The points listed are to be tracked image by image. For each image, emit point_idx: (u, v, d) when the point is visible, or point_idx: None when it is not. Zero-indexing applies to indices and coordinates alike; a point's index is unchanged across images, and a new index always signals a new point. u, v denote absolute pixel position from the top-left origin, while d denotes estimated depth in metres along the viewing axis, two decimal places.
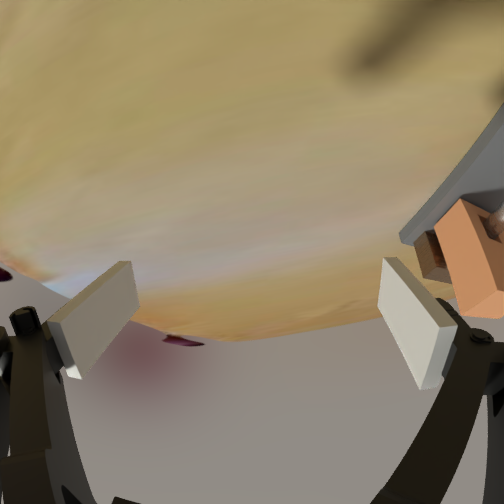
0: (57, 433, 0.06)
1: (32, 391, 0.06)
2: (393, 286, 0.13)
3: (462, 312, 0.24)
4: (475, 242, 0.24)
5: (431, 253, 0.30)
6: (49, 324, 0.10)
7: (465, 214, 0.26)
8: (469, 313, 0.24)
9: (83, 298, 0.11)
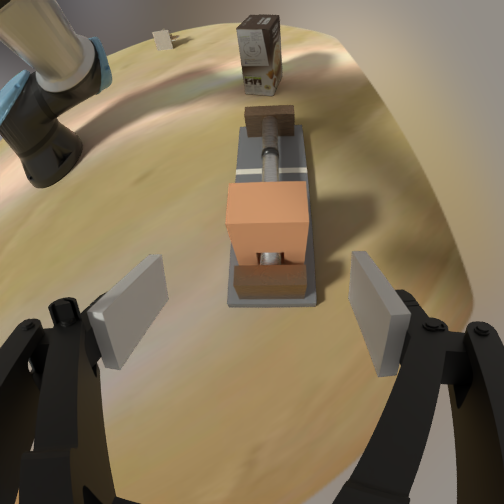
0: (86, 430, 0.06)
1: (65, 386, 0.07)
2: (359, 278, 0.14)
3: None
4: None
5: None
6: (89, 315, 0.10)
7: None
8: (234, 218, 0.30)
9: (121, 289, 0.12)
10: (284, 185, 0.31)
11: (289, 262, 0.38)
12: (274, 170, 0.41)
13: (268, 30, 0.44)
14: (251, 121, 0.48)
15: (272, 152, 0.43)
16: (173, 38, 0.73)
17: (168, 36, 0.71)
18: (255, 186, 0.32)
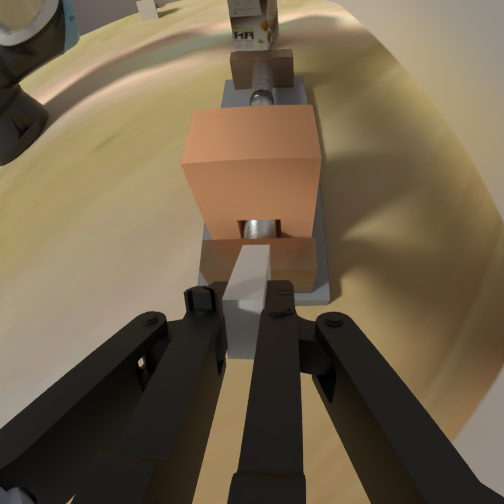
0: (186, 439, 0.06)
1: (177, 386, 0.07)
2: None
3: None
4: None
5: None
6: (224, 303, 0.11)
7: None
8: (196, 155, 0.17)
9: (243, 277, 0.13)
10: (279, 109, 0.19)
11: None
12: None
13: None
14: (239, 68, 0.35)
15: (264, 95, 0.30)
16: (159, 7, 0.60)
17: (153, 5, 0.58)
18: (234, 112, 0.19)
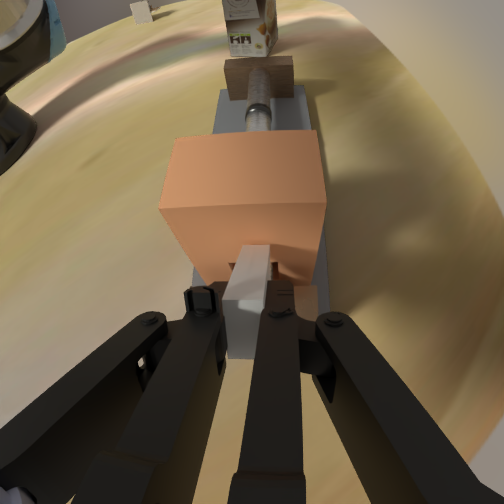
0: (186, 439, 0.06)
1: (177, 386, 0.07)
2: None
3: None
4: None
5: None
6: (224, 303, 0.11)
7: None
8: (176, 198, 0.15)
9: (243, 277, 0.13)
10: (276, 136, 0.16)
11: (287, 278, 0.22)
12: None
13: None
14: (234, 77, 0.32)
15: (261, 110, 0.27)
16: (153, 9, 0.58)
17: (147, 7, 0.56)
18: (222, 140, 0.16)
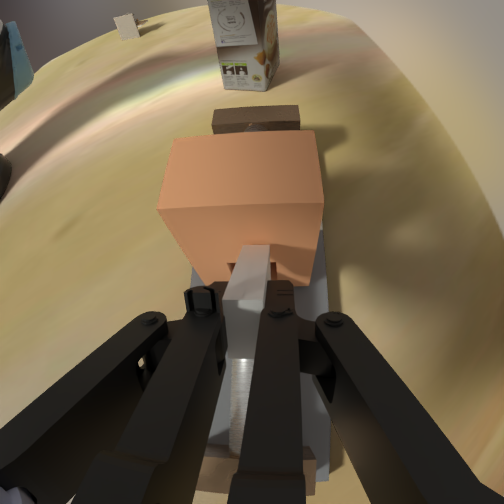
0: (186, 439, 0.06)
1: (177, 386, 0.07)
2: None
3: None
4: None
5: None
6: (225, 303, 0.11)
7: None
8: (174, 198, 0.15)
9: (243, 277, 0.13)
10: (274, 137, 0.16)
11: (285, 278, 0.22)
12: None
13: None
14: None
15: None
16: (139, 23, 0.53)
17: (133, 21, 0.51)
18: (220, 140, 0.16)
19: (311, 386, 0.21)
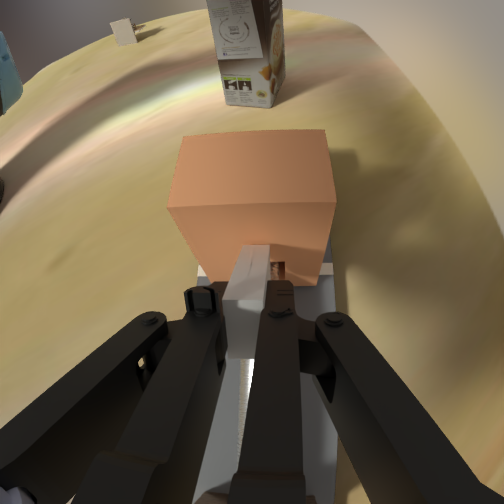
0: (186, 439, 0.06)
1: (178, 386, 0.07)
2: None
3: None
4: None
5: None
6: (225, 303, 0.11)
7: None
8: (185, 197, 0.15)
9: (244, 277, 0.13)
10: (285, 136, 0.16)
11: (293, 278, 0.22)
12: None
13: None
14: None
15: None
16: (137, 29, 0.51)
17: (130, 26, 0.49)
18: (231, 139, 0.16)
19: (317, 439, 0.19)
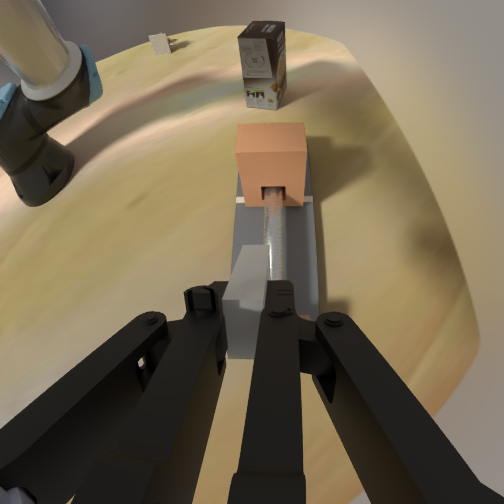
0: (186, 439, 0.06)
1: (178, 386, 0.07)
2: None
3: None
4: None
5: None
6: (224, 303, 0.11)
7: None
8: (243, 149, 0.34)
9: (243, 277, 0.13)
10: (285, 125, 0.35)
11: (290, 199, 0.41)
12: (277, 203, 0.38)
13: (272, 39, 0.41)
14: None
15: None
16: (171, 42, 0.69)
17: (166, 40, 0.68)
18: (261, 126, 0.35)
19: (306, 288, 0.38)
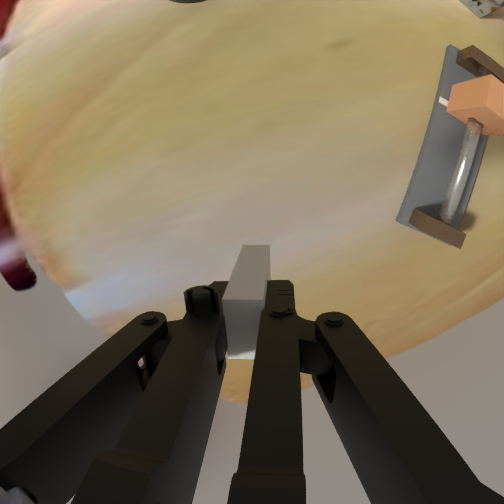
0: (186, 439, 0.06)
1: (177, 386, 0.07)
2: None
3: (485, 104, 0.26)
4: (469, 82, 0.30)
5: (421, 212, 0.39)
6: (224, 303, 0.11)
7: (458, 84, 0.33)
8: (491, 106, 0.26)
9: (243, 277, 0.13)
10: None
11: None
12: (477, 138, 0.33)
13: None
14: (471, 62, 0.30)
15: None
16: None
17: None
18: None
19: (461, 200, 0.41)
